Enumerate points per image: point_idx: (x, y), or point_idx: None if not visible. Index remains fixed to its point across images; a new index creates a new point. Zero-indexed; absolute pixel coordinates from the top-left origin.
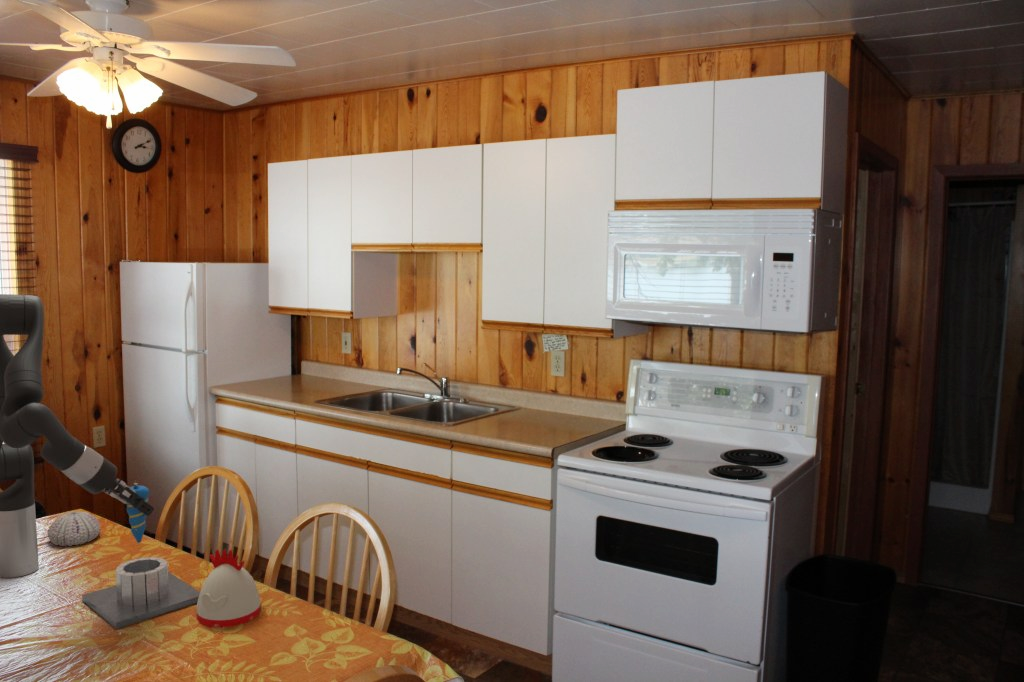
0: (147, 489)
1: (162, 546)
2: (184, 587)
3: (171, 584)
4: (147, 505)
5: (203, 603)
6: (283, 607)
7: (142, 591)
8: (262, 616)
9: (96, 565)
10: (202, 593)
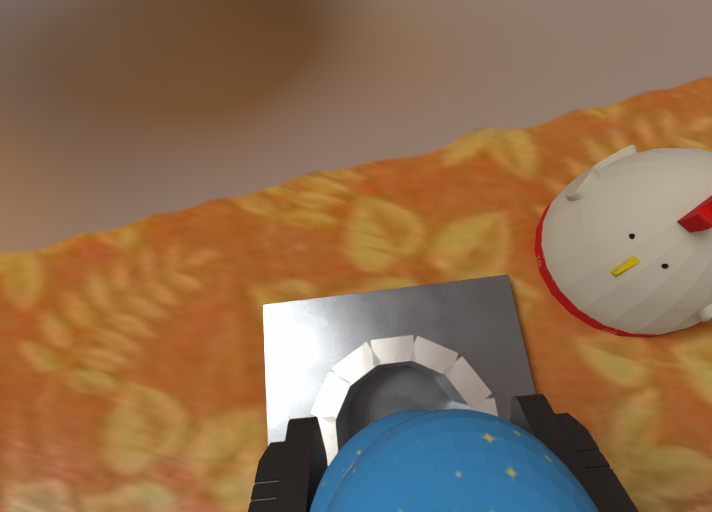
0: (526, 449)
1: (46, 251)
2: (421, 302)
3: (376, 326)
4: (616, 477)
5: (707, 320)
6: (657, 138)
7: None
8: None
9: (31, 456)
10: (686, 308)
